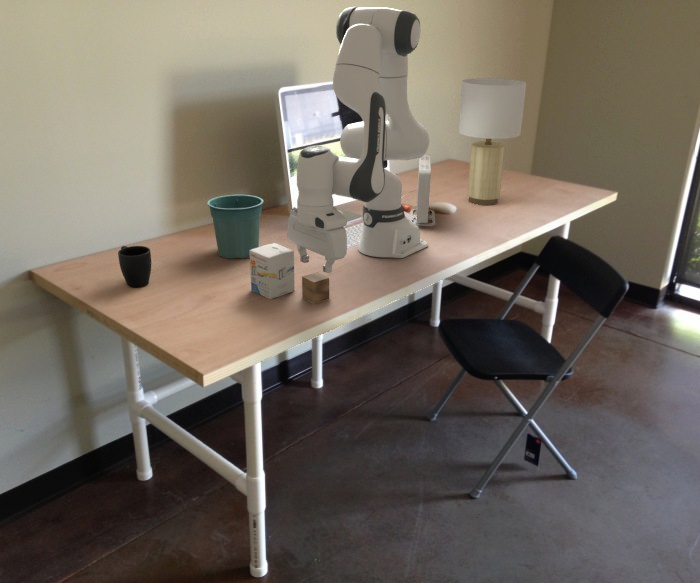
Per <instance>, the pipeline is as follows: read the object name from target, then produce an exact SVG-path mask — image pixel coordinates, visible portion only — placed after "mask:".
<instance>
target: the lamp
mask: <svg viewBox="0 0 700 583" xmlns="http://www.w3.org/2000/svg"><path fill="white" fill-rule="evenodd" d="M526 88H527V82H526V81H524V80H518V79H507V78H492V77H491V78H489V77H488V78H487V77H486V78H484V77H483V78H467V79H463V80H462V82H461V90H460V91H461V94H460V104H459V115H458V116H459V119H458V133H459V134H460V135H463V136H465V137H470V138H476V139H485V141H475V142H472V143H471V145H470V146H471V147H470V160H469V172H468V181H467V182H468V185H467V194H466V195H467V196H468V202H469V203H470V202H471V203H470V204H473V203H474V204H473V205H476V204H478V206H494V205H497V204H498V201H499V198H500V197H501V196H500V195H501V189H502V188H501V187H502V179H503V168H504V158H505V148H506V145H505V144H504V143H501V142H496V141H492V139H493V140H504V139H514V138H518V137H520V136H521V134H522V133H521V132H522V125H523V118H524V110H525V109H524V108H525V101H526V100H525V99H526Z"/></svg>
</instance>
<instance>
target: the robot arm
mask: <svg viewBox="0 0 700 583" xmlns="http://www.w3.org/2000/svg"><path fill="white" fill-rule="evenodd" d="M335 28H336V29H335V30H336V31H335V32H336V38H337V41H338V43H339V44H340V46H339V51H338V53H337V58H336V63H335V67H334V72H333V77H332V89H333V91H334V94H335V95H336V97H337V99H338V100H339V101H340V103H342V105H345V107H348V108H349V109H350V110H352V111H354V112H355V113H357V114H358V115H359V116H360V118H361V119H362V121H358V122H354V123H349V124H346V126H344V128H343V129H342V131H341V133H340V137H339V138H340V140H339V145H340V149H341V151H342V152H343V154H344V155H345V156H343V155H341V156H340V155H338V154H336V153H333V152H332V151H331V149H330V148H329V147H328V146H326V145H318V144H317V145H310V146H307V147H304V148H303V149H301V150H300V152H299V155H298V159H297V165H296V187H297V190H298V191H297V192H298V195H297V196H298V197H297V201H296V202H297V203H296V205H297V206H294V207H292V208H291V210H290V211H289V217H288V220H287V228H286V229H287V232H286V234H287V235H286V236H287V240H288V241H289V242H290V243H291V244H294V245H296V249H297V251H298V255H299V258H300V260H299V261H300V262H301V263H303V264H306V263H310V256H309V254H308V252H307V250H309V251H311V252H313V253H316V254H317V255H321V256H322V257H324V259H325V261H326V262H325V264H324V265H322V272H324V273H326V274H330V273H332V272H333V265H334V263H335V261H337V260H340V259H344V258H345V257H346V255H347V252H348V235H347V234H348V233H347V231H346V228H345V227H347V225H348V219H347V218H346V216H345V215H343V214H342V213H341V212H340V211H339V210H338V209H337V208H336V207H335V206H334V198H333V195H336V196H340V197H345V198H350V199H353V200H355V201H356V200H357V201H360V202H363V205H362V221H363V223H362V230H361V235H360V239H359V245H358V248H357V250H358V251H359V253H361V254H363V255H366V256H369V257H374V258H394V259H402V258H403V259H404V258H406V257H408V256H409V255H412V254H414V253H416V252H418V251H420V250H421V251H422V250H423V249H425V248H427V247H428V242H427V241H426V240H424V239H422V238H421V231H420V228H419V226H417V225H416V224H414V223H415V222H414V221H413V222H412V221H410V218H408V217H407V216H406V215H405V213H408V214H410V212H411V210H412V207H411V206H410V205H407V204H405V205H402V188H403V184H402V181H401V178H400V177H399V176H398V175H396V174H395V173H393V172H392V171H390V170H388V169H387V168H385V163H384V162H385V161H410V160H416V159H419V158H421V157H422V156H423V155H425V154H426V152H427V151H428V149H429V145H430V135H429V133H428V130H427V129H426V127H425V126H424V125H423V124H422V123H421V122H419V121H418V120H417V119H416V117H415V115H413V113H412V110H411V109H410V106H409V102H408V77H409V76H408V75H409V74H408V72H409V70H408V69H409V58H408V55H409V54H411V53H413V51H415V50H416V49H417V47H418V44H419V42H420V38H421V33H422V32H421V21H420V19H419V18H418V16H417V14H416V13H414V12H412V11H408V10H405V9H403V10H399V9H395V8H390V7H381V6H379V7H359V6H352V7H347V8H345V9H344V10H342V12H340V13H339V16H338V17H337V21H336V26H335ZM386 118H388V120H386Z"/></svg>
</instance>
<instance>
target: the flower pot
mask: <svg viewBox="0 0 700 583" xmlns="http://www.w3.org/2000/svg"><path fill="white" fill-rule="evenodd" d="M263 204H264V199H263V198H261V197H259V196H256V195H249V194H230V195H229V194H227V195H221V196H217V197H213V198H211V199H209V200H208V201H207V206H208V207H209V211H210V212H209V213H210V216H211V218H212V222H213V228H214V229H213V230H214V234H215V240H216V247H217V248H216V249H217V252H218V255H219V256H221V257H222V258H225V259H231V260H232V259H236V258H239V259H247V258H248V259H249V258H250V251H249V250H251V249H255V248H258V247H260V228H261V227H260V224H261V223H260V222H261V215H262V208H263V207H262V206H263Z"/></svg>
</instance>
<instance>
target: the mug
mask: <svg viewBox="0 0 700 583" xmlns="http://www.w3.org/2000/svg"><path fill="white" fill-rule="evenodd" d="M117 255H118V263H119V268H120V271H121V273H122V276H123V278H124V280H125V283H126V285H127V287H129V288H132V289H140V288H145V287H146V286H148V285H149V283H150V279H151V278H150V277H151V273H152V254H151V249H150V247H147V246H143V245H133V246H132V245H131V246H126V245H122V246H121V247H120V249H119V250H118V252H117Z"/></svg>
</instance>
